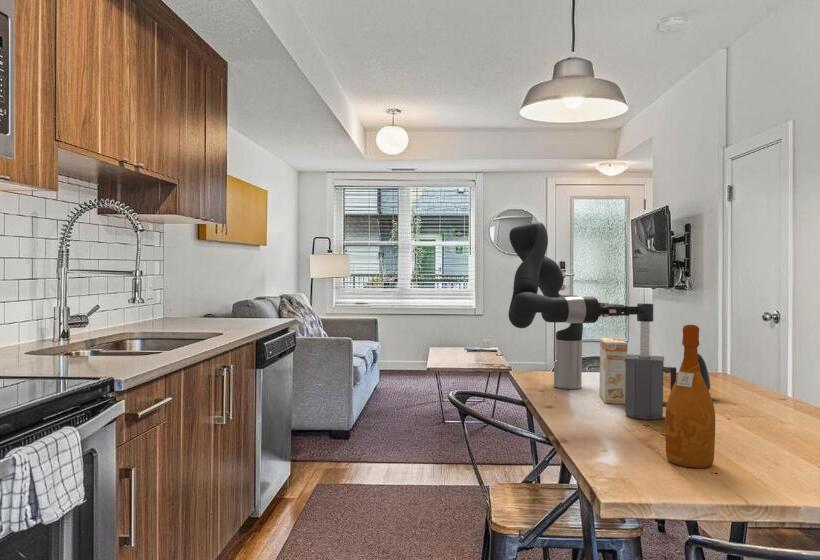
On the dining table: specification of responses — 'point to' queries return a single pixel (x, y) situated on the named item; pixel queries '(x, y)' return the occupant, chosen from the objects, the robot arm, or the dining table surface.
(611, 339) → the coffeecake box
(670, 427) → the wine bottle
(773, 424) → the dining table surface
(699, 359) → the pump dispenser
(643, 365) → the press body
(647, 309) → the plunger
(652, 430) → the dining table surface
